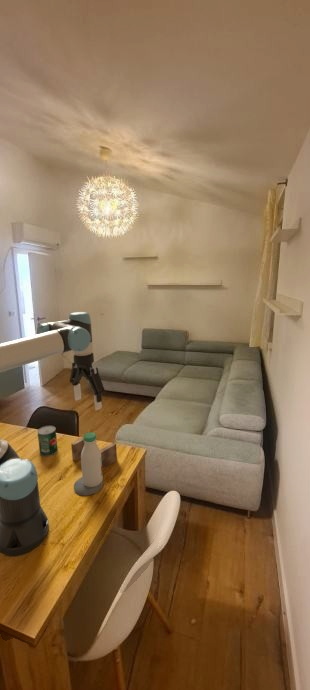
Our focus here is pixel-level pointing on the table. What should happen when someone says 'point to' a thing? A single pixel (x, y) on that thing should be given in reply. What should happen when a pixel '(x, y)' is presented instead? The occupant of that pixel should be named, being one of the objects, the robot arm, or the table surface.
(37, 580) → the table surface
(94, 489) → the coaster
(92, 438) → the milk bottle
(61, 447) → the table surface
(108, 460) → the bookends
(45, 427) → the canned tomato
